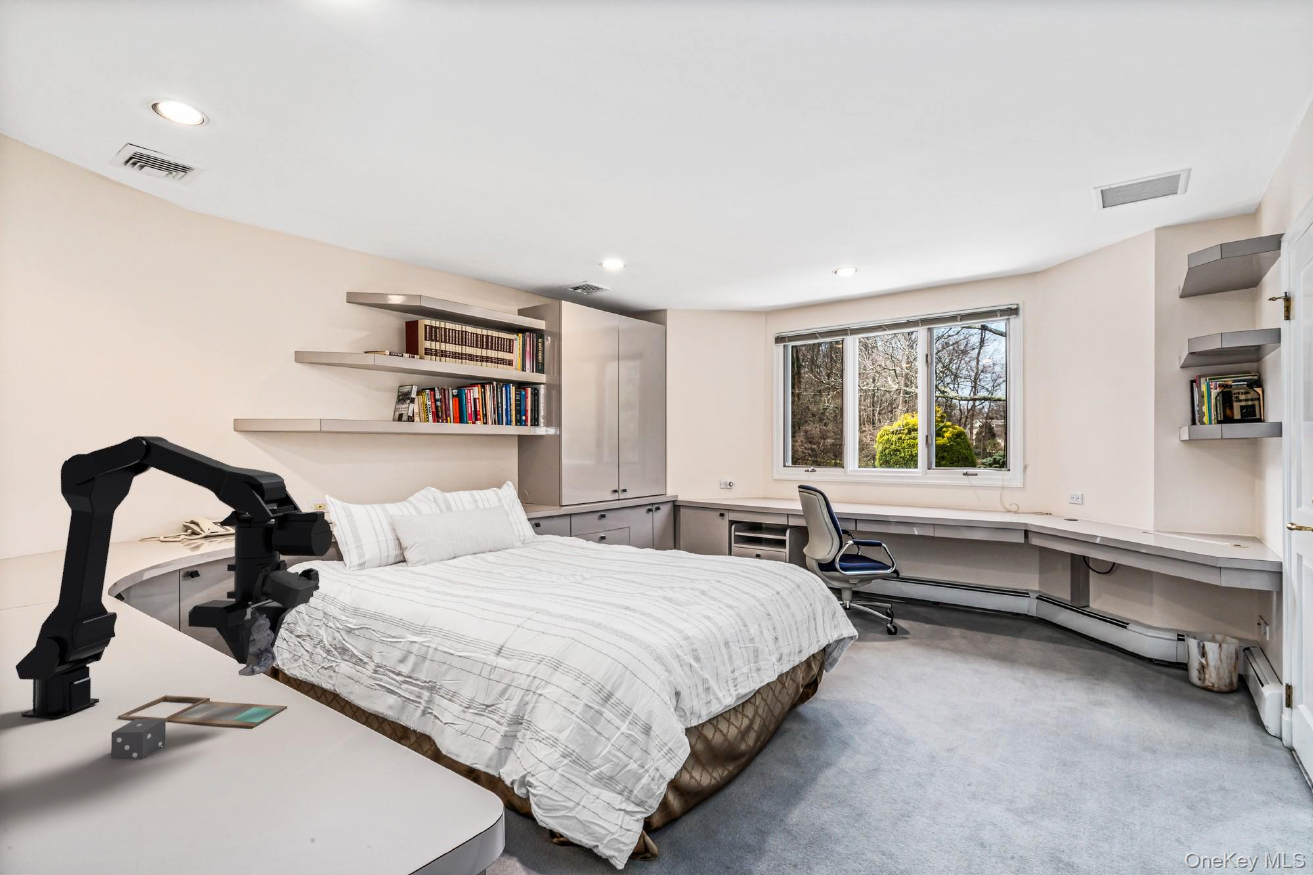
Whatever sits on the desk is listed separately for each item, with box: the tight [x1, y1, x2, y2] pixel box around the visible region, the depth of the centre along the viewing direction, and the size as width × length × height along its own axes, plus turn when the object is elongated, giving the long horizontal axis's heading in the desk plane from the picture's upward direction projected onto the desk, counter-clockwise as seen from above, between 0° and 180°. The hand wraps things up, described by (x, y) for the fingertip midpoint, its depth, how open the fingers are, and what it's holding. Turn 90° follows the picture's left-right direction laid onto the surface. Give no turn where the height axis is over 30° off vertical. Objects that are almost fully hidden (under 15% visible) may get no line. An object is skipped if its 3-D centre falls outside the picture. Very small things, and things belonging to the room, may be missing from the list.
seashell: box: [238, 608, 277, 677], centre depth 96 cm, size 5×5×10 cm
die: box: [110, 719, 167, 760], centre depth 85 cm, size 4×4×4 cm
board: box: [167, 700, 288, 729], centre depth 97 cm, size 15×7×1 cm, turn 82°
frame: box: [117, 694, 211, 723], centre depth 98 cm, size 8×8×1 cm
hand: (255, 657), depth 96 cm, fingers closed on seashell, 5 cm apart
